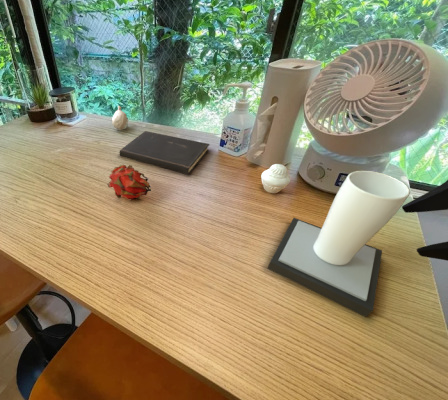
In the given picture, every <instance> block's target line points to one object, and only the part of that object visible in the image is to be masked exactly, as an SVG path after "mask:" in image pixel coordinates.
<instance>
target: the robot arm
mask: <svg viewBox="0 0 448 400" xmlns="http://www.w3.org/2000/svg"><path fill="white" fill-rule="evenodd" d="M401 208H402V210H403V212H404V213H406V214H408V213H409V214H410V213H411V214H412V213H427V212H437V211H438V212H439V211H448V179H446V181H444V182H443V183H441V184H440V185H438V186H436V187H435V188H433V189H431V190H429V191H428V192H426V193H424V194H421V195H420V196H418V197H416V198H415V199H413V200H411V201H409V202H407V203H405V204H403V205H402V206H401ZM416 252H417V254H418V255H419V256H420V257H422V258H429V259H435V260H442V261H448V241H443V242H437V243H433V244H429V245H425V246H420V247H417V248H416Z"/></svg>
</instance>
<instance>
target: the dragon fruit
mask: <svg viewBox="0 0 448 400" xmlns="http://www.w3.org/2000/svg"><path fill="white" fill-rule="evenodd" d="M141 176H142V177H141ZM108 178H109V179H110V181H109V182H108V183H107V184H106V185H107V187H108V188H113V190H114V194H115V196H116V197H117V199H121V198H122V197H123V198H125V199H127V200H130V201H133V202H134V201H135V202H136V201H140V200H141V198H140V197H141V196H142V197H143V196H147V195H148V193H149V192H152V189H151V188H152V186H151V185H150V183H149V182H148V181H149V178H148V177H147V176H145V174H144V173H143V172H139V170H136V169H135V167H134V166H133V165H131V164H129V165H126V164H120V165H119V166H115V167H114V168H113V169H112V171H111V173H110V174H109V176H108Z"/></svg>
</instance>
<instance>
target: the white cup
mask: <svg viewBox="0 0 448 400" xmlns="http://www.w3.org/2000/svg"><path fill="white" fill-rule="evenodd" d="M410 194H411V191H410V188H409V187H408V186H407V185H406V184H405V183H404V182H402V181H401V180H399V179H397V178H395V177H394V176H390V175H388V174H385V173H381V172H379V171H378V172H377V171H372V170H355V171H352V172H350V173H349V174H347V176H346V177H345V179H344V180H343V182H342V184H341V185H340V187H339V189H338V190H337V192H336V195H335V196H334V199H333V200H332V203H331V204H330V207H329V210H328V211H327V214H326V217H325V220H324V222H323V224H322V226H321V228H322V229H321V231H320V233H319V236H318V238H317V239H316V241H315V243H314V246H313V249H314V252H315V254H316V255H317V256H318V257H319V258H320V259H322V260H323V261H325V262H327V263H330V264H333V265H345V264H347V263H349V262H350V261H351V259H352V258H353V257H354V256H355V255H356V253H357V252H358V251H359V250H360V249H361V248H362V247H363V246H364V245H365V244H367V243H369V241H370V240H371V239H373V238H374V237H375V235H377V234H378V233H379V232H380V231H381V230H382V229H383V228H384V227H385V226H386V225H387V224H388V223H389V222H390V221H391V220H392V219H393V217H394V216H395V215H396V214H397V213H398V211H399V210H400V209H401V208H402V206H403V205H404V203H405V202H406V201H407V199H408V197H409V196H410Z"/></svg>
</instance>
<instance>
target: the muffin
mask: <svg viewBox="0 0 448 400" xmlns="http://www.w3.org/2000/svg"><path fill="white" fill-rule="evenodd" d="M260 176H261V177H260V178H261V183H262V187H263V189H264V191H265V192H267V193H270V194H276V193H279V192H280V191H282V190H283V189H285V188H286V187H287V185H289V184H290V182H291V176H290V174H289V173H288V168H287V167H286V165H283V164H281V163H275V164H272V165H271V166H270V167H269V168H268V169H265V170H264V171H263V172H261V175H260Z"/></svg>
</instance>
